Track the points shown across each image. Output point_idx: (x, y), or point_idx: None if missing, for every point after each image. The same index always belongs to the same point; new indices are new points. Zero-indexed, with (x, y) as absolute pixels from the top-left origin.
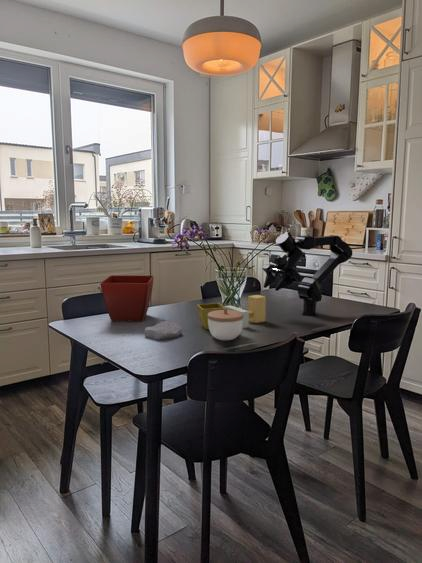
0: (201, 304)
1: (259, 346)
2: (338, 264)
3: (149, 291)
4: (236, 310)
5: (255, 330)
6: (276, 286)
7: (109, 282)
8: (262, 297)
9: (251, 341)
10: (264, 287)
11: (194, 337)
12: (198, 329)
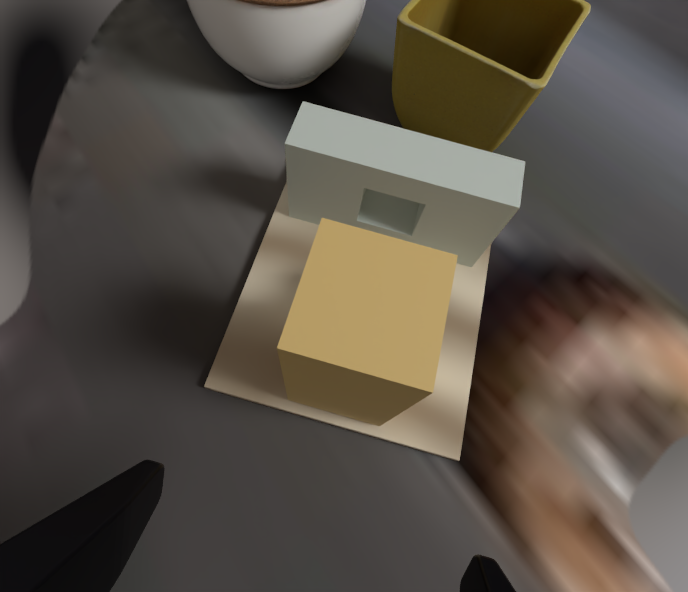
0: (579, 17)
1: (90, 53)
2: None
3: None
4: (373, 121)
5: (245, 230)
6: (123, 497)
7: None
8: (293, 302)
9: (158, 83)
10: (470, 566)
11: (393, 13)
12: None
